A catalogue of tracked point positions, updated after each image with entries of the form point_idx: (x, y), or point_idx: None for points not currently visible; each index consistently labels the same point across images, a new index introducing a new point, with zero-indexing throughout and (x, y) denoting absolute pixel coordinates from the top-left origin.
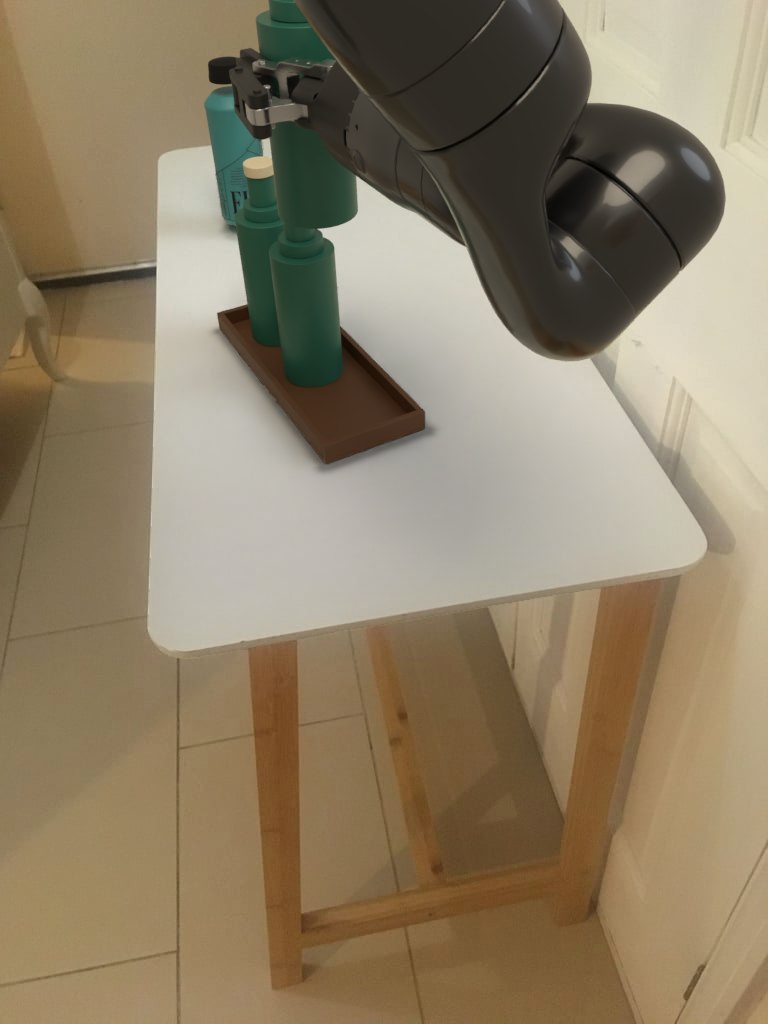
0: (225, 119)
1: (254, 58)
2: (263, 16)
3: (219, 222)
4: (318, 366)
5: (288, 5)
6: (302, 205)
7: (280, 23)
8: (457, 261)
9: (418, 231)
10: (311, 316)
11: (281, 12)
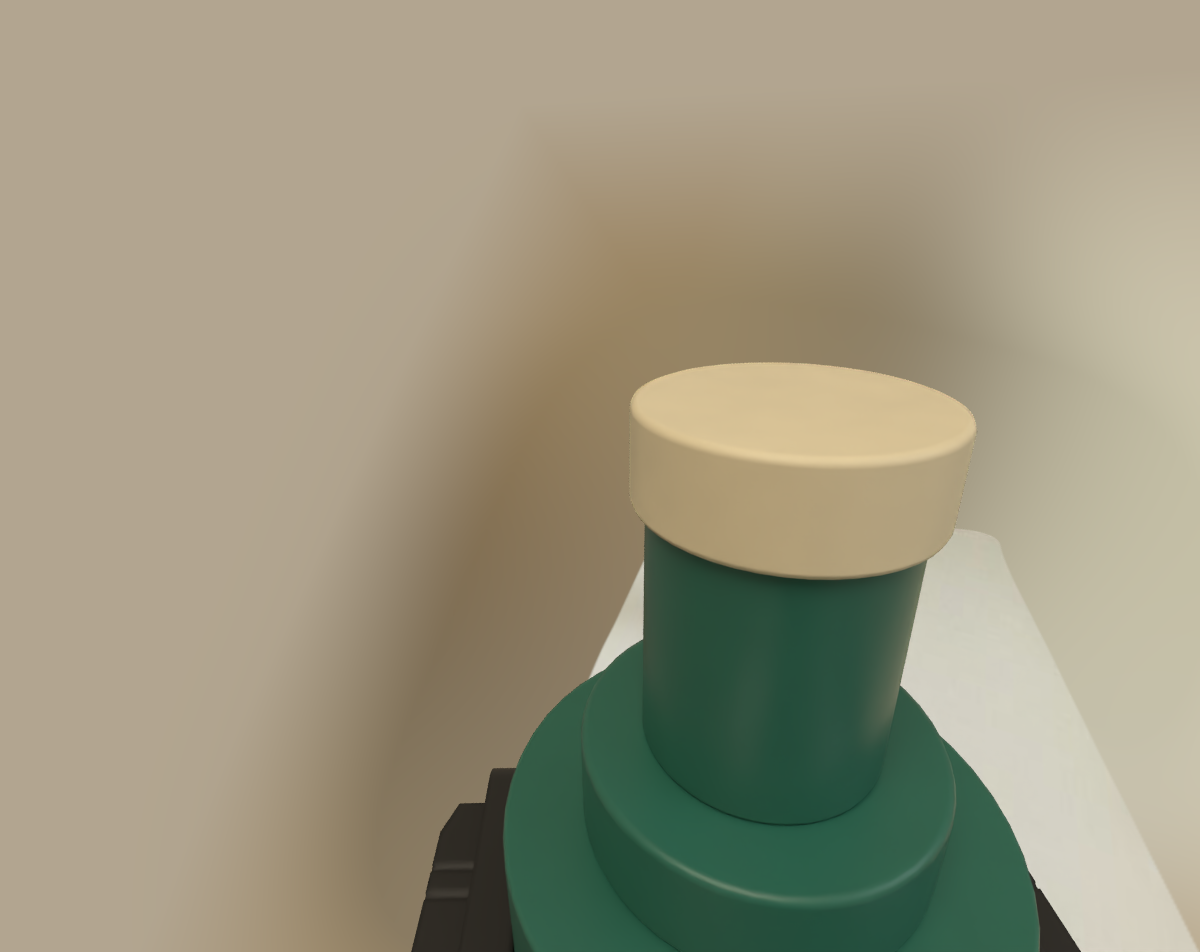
0: None
1: (463, 927)
2: (577, 723)
3: None
4: None
5: (643, 854)
6: None
7: (590, 891)
8: (1032, 839)
9: (960, 733)
10: None
11: (604, 847)
